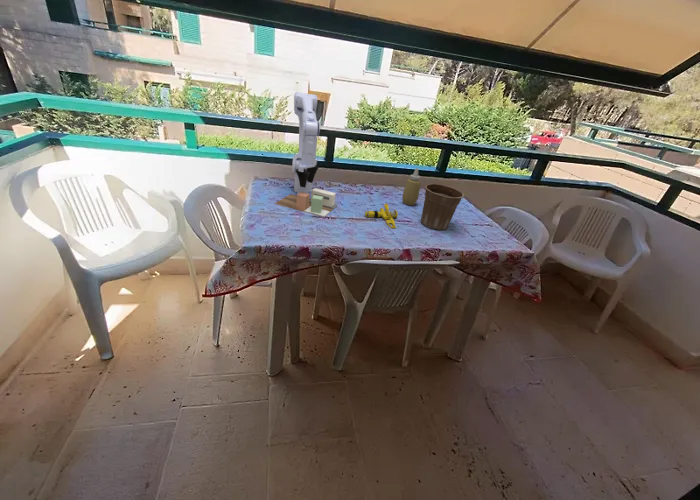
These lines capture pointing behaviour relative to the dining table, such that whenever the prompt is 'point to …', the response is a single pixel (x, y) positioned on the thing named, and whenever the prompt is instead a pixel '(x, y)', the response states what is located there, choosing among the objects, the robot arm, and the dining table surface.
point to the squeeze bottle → (412, 189)
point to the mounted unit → (325, 197)
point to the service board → (294, 203)
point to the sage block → (317, 204)
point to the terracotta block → (303, 200)
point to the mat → (323, 213)
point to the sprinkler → (384, 215)
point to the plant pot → (439, 205)
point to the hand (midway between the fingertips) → (306, 184)
